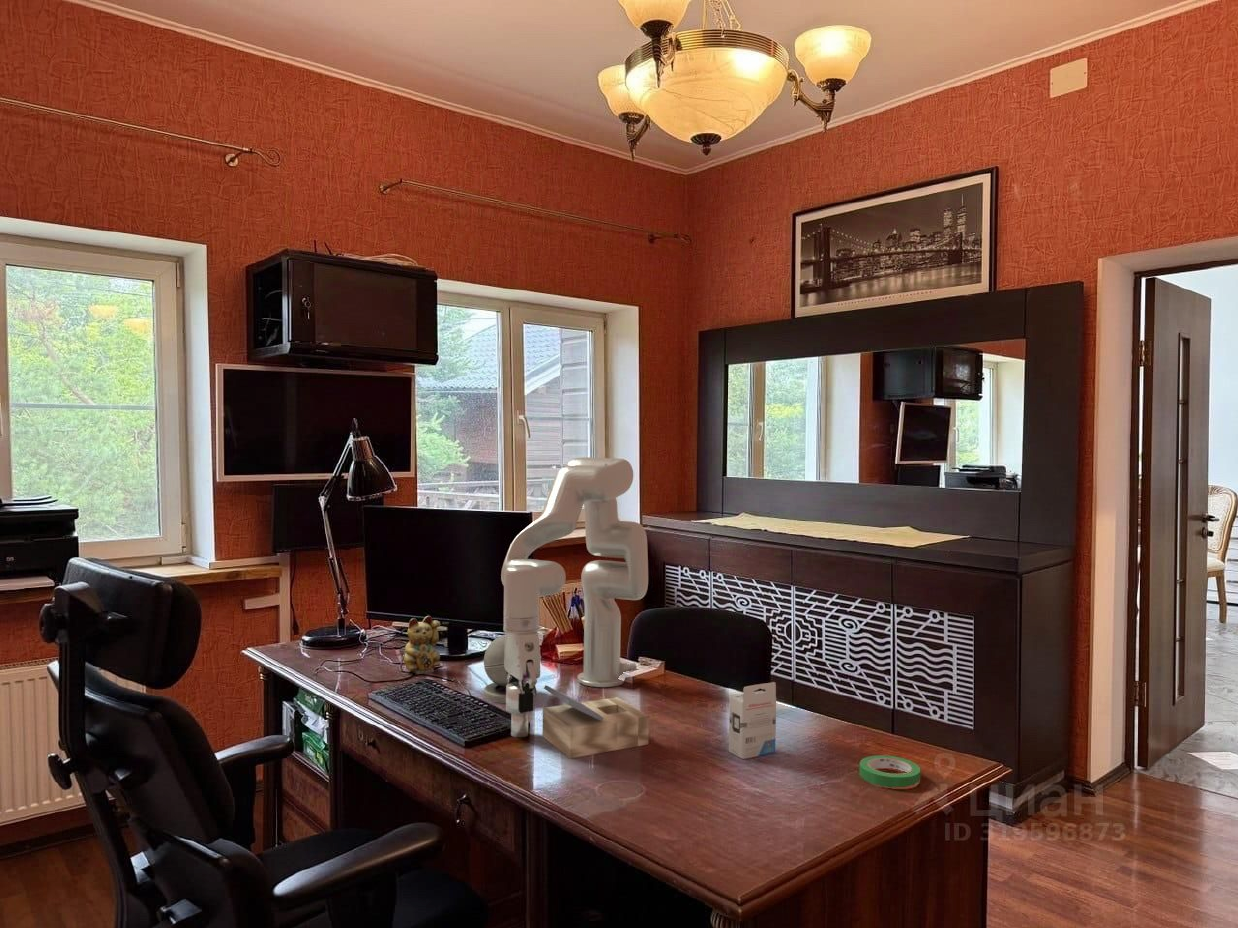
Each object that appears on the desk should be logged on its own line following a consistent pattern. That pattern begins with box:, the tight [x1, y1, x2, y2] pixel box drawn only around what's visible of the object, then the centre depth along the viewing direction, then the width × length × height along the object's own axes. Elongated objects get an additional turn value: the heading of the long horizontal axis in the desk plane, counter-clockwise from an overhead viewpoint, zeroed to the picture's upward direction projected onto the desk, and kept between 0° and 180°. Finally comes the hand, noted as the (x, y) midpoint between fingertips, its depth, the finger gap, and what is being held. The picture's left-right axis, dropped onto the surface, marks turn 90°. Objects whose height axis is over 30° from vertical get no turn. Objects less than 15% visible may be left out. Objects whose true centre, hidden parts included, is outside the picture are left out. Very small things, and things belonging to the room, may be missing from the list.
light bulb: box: [505, 681, 535, 738], centre depth 183 cm, size 6×6×10 cm
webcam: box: [482, 634, 538, 704], centre depth 210 cm, size 13×13×15 cm
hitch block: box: [541, 696, 650, 759], centre depth 180 cm, size 18×14×6 cm
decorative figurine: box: [403, 615, 441, 675], centre depth 230 cm, size 10×8×15 cm
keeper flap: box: [543, 684, 603, 721], centre depth 178 cm, size 9×12×1 cm
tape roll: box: [859, 754, 921, 787], centre depth 163 cm, size 11×11×3 cm
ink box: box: [728, 681, 777, 760], centre depth 175 cm, size 9×5×15 cm, turn 117°
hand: (520, 705), depth 183 cm, fingers closed on light bulb, 6 cm apart
